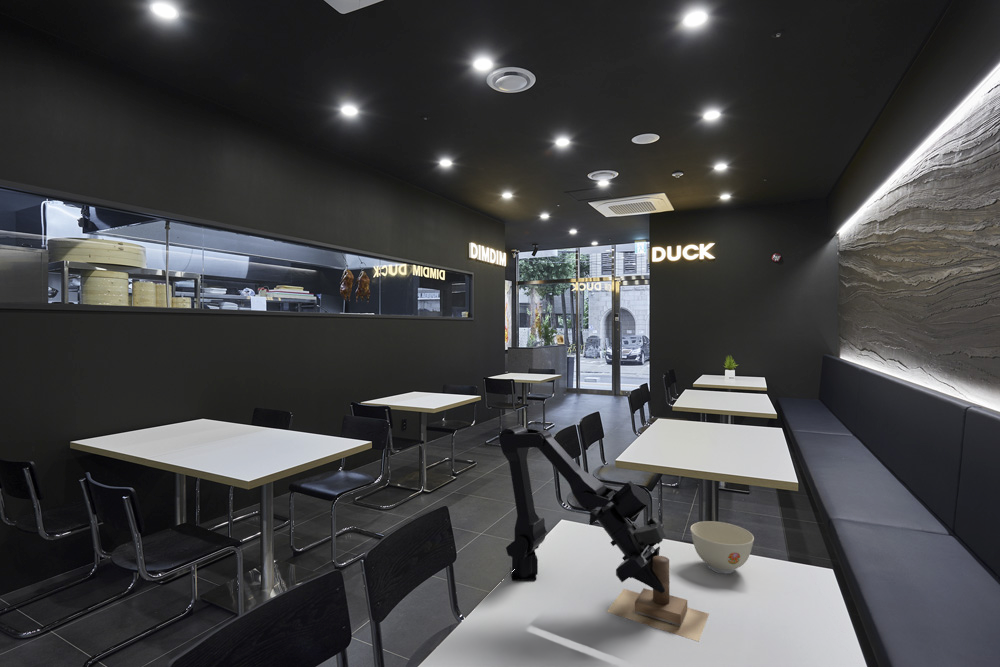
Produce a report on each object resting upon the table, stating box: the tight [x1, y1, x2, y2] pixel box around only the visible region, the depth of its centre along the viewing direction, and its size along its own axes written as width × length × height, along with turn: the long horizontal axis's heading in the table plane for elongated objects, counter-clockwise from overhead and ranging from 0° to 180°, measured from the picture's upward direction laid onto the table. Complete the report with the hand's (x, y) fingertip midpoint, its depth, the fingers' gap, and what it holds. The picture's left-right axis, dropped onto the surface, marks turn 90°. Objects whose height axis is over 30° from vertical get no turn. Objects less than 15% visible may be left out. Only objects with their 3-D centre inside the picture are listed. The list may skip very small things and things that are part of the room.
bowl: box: [690, 520, 755, 575], centre depth 138 cm, size 16×16×10 cm
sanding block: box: [635, 555, 688, 626], centre depth 114 cm, size 10×7×12 cm
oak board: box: [606, 588, 710, 642], centre depth 114 cm, size 20×12×1 cm, turn 58°
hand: (665, 588), depth 113 cm, fingers closed on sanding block, 4 cm apart
